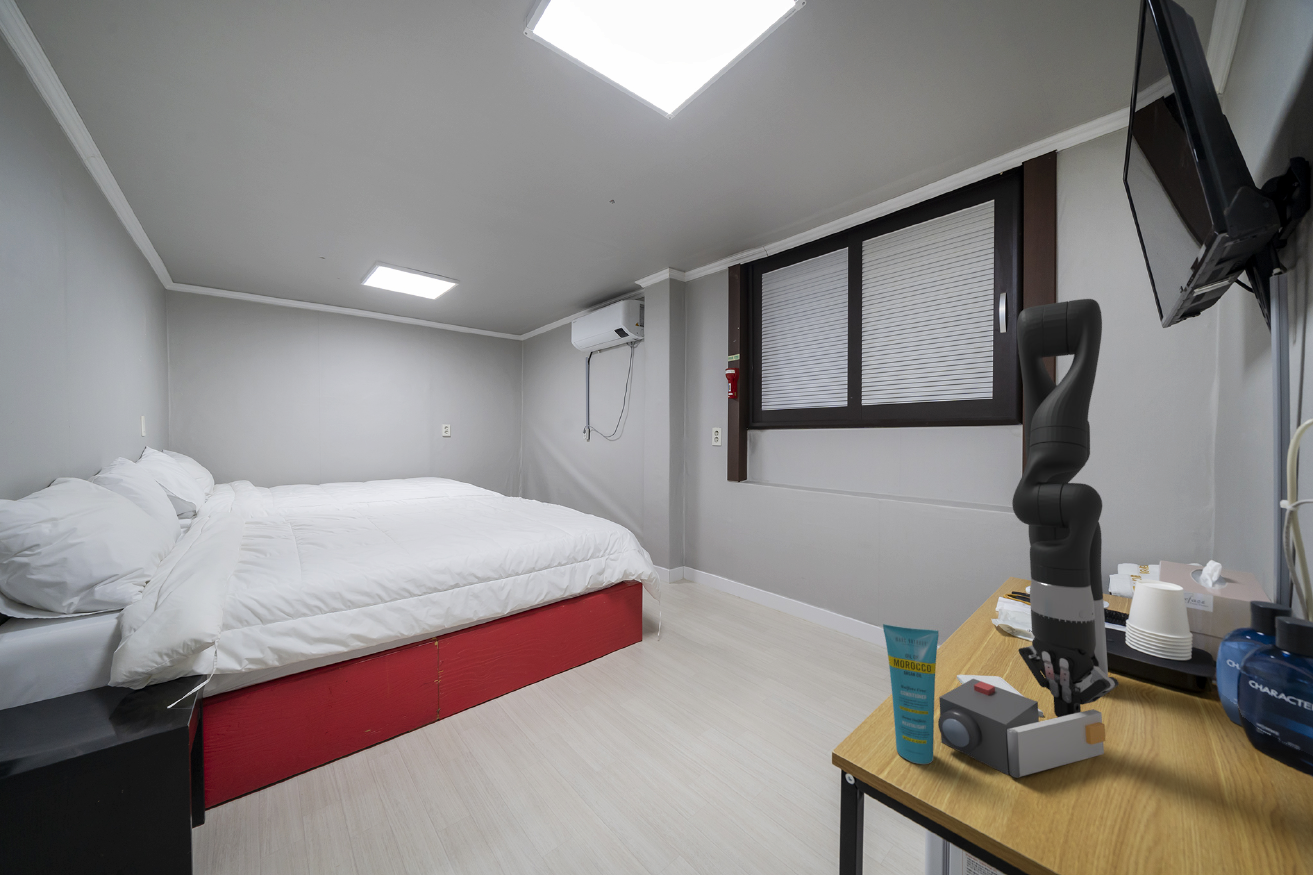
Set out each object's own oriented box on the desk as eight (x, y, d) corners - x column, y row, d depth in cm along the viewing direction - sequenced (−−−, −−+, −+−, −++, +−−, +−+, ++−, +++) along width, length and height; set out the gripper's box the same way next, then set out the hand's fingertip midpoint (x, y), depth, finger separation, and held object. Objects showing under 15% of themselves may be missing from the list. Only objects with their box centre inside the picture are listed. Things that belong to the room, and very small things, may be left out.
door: (1095, 749, 69) (1092, 708, 70) (1108, 756, 68) (1106, 714, 68) (1007, 772, 65) (1004, 729, 65) (1019, 780, 63) (1017, 736, 63)
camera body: (975, 720, 78) (973, 673, 79) (1040, 748, 71) (1037, 696, 71) (933, 747, 71) (931, 696, 72) (1000, 781, 64) (997, 723, 64)
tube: (889, 758, 69) (884, 629, 70) (886, 740, 73) (881, 618, 74) (947, 770, 66) (941, 635, 67) (940, 750, 71) (934, 623, 72)
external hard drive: (1001, 684, 91) (1043, 720, 79) (956, 682, 93) (991, 717, 80) (1001, 676, 91) (1043, 710, 79) (956, 674, 93) (991, 707, 80)
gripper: (1131, 622, 66) (1138, 744, 66) (1034, 595, 79) (1040, 697, 79) (1094, 628, 64) (1101, 754, 64) (1001, 600, 77) (1006, 704, 77)
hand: (1067, 722), depth 71 cm, fingers closed
